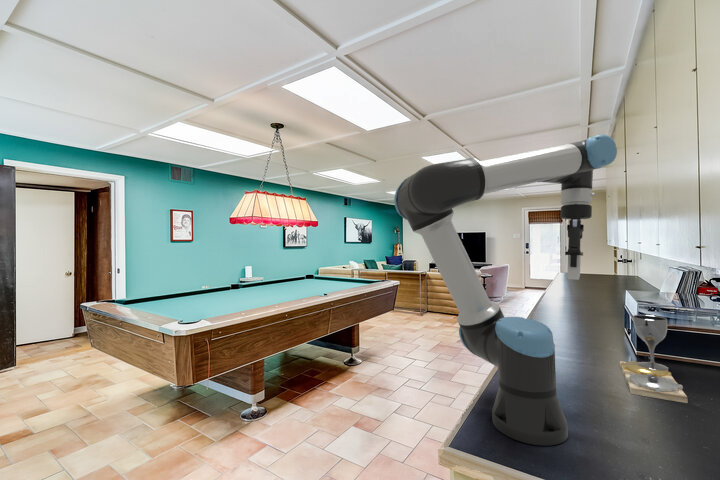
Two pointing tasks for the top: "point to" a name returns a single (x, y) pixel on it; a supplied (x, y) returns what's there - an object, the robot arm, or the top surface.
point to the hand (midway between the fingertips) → (573, 278)
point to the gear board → (652, 382)
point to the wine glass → (651, 336)
